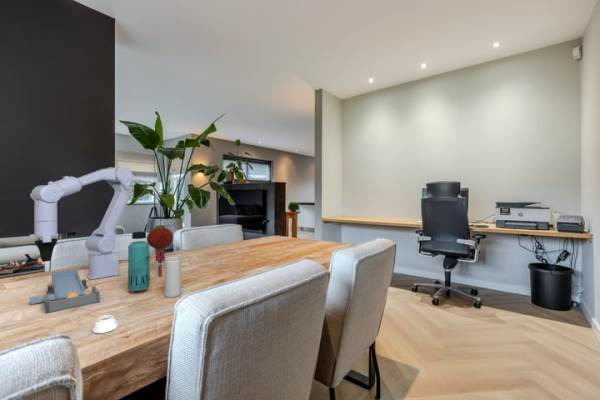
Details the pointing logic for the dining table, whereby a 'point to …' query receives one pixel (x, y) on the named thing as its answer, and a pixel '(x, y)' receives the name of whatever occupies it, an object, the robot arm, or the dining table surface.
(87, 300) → the dish
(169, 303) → the dining table surface
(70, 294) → the ball
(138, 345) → the dining table surface
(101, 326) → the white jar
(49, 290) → the stand
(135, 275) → the beverage bottle
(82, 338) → the dining table surface
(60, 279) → the blue-grey piece
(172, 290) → the beverage can
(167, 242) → the lantern
